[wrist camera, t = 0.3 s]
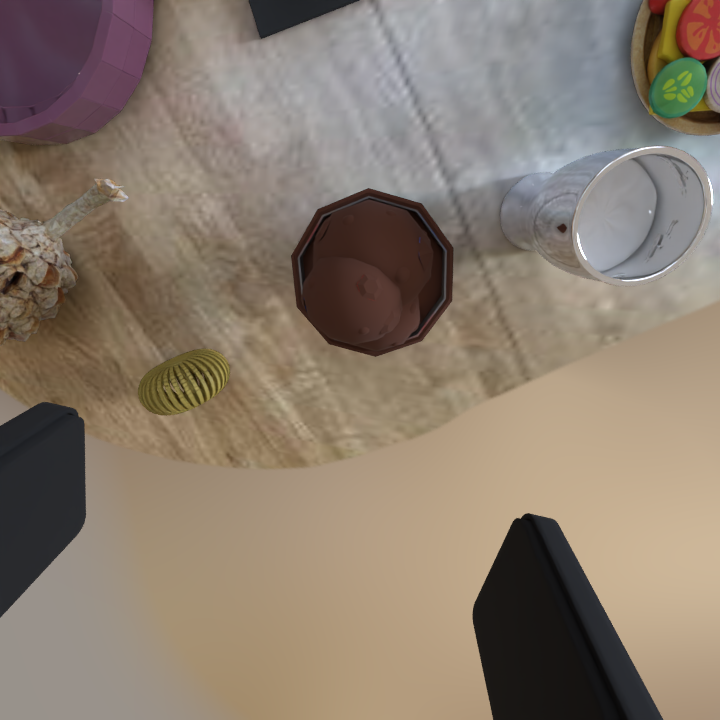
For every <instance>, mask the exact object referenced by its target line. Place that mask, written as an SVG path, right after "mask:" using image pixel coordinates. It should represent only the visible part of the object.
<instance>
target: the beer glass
mask: <svg viewBox="0 0 720 720" xmlns="http://www.w3.org/2000/svg"><path fill="white" fill-rule="evenodd" d="M712 207H713V193H712V187H711V183H710V180H709V177H708V175H707V173H706V171H705V170H704V168H703V167H702V165H701V164H700V163H699V162H698V161H697V160H696V159H695V158H694V157H692V156H691V155H689V154H688V153H686V152H684V151H682V150H679V149H676V148H673V147H668V146H648V147H642V148H626V149H616V150H610V151H604V152H599V153H595V154H592V155H589V156H585V157H582V158H579V159H577V160H575V161H573V162H571V163H569V164H567V165H565V166H563V167H562V168H560V169H558V170H557V171H555V172H554V173H550V172H539V173H534V174H531V175H528V176H526V177H524V178H522V179H521V180H519V181H518V182H517V183H516V184H515V185H514V186H513V187H512V188H511V189H510V190H509V192H508V193H507V195H506V196H505V198H504V201H503V203H502V207H501V211H500V222H501V227H502V230H503V233H504V235H505V236H506V238H507V239H508V240H509V241H510V242H511V243H512V244H513V245H515V246H516V247H518V248H521V249H524V250H530V251H537V252H538V253H539V254H540V255H541V256H542V257H543V258H544V259H546V260H547V261H548V262H549V263H551V264H552V265H553V266H555V267H557V268H559V269H561V270H563V271H565V272H567V273H570V274H572V275H576V276H579V277H582V278H586V279H590V280H595V281H600V282H605V283H608V284H611V285H616V286H636V285H641V284H645V283H649V282H652V281H654V280H657V279H659V278H661V277H663V276H665V275H667V274H668V273H670V272H672V271H673V270H674V269H676V268H677V267H678V266H680V265H681V264H682V263H683V262H684V261H685V260H686V259H687V258H688V257H689V256H690V255H691V254H692V253H693V251H694V250H695V249H696V247H697V246H698V245H699V243H700V241H701V240H702V238H703V236H704V234H705V232H706V230H707V227H708V225H709V222H710V218H711V214H712Z"/></svg>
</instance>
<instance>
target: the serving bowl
mask: <svg viewBox="0 0 720 720" xmlns="http://www.w3.org/2000/svg"><path fill="white" fill-rule="evenodd" d="M153 4H154V0H0V140H4V141H10V142H17V143H23V144H29V145H51V144H67V143H70V142H73V141H75V140H78V139H81V138H83V137H86V136H88V135H91V134H94V133H96V132H97V131H98V130H99V129H101V128H102V127H103V126H104V125H105V124H106V123H108V122H109V121H110V120H111V119H112V118H114V117H115V116H116V115H117V114H118V113H119V112H121V110H122V109H123V107H124V106H125V104H126V103H127V101H128V99H129V98H130V96H131V94H132V93H133V91H134V90H135V88H136V86H137V85H138V83H139V81H140V79H141V76H142V73H143V69H144V66H145V62H146V59H147V55H148V52H149V48H150V45H151V40H152V26H153Z"/></svg>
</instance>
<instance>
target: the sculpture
mask: <svg viewBox="0 0 720 720" xmlns="http://www.w3.org/2000/svg"><path fill="white" fill-rule="evenodd" d="M212 365H213V367H212ZM207 369H208V370H209V372H210V373H209V372H208V371H207ZM194 373H195V374H194ZM202 373H203V374H204V378H203V377H202V376H203V375H202ZM195 375H196V377H197V378H198V380H199V383H200V386H199V384H198V381H197V378H196V377H195ZM229 375H230V368H229V364H228V361H227V360H226V359H225V357H224V356H223V355H222V354H220V353H219V352H217V351H215V350H212V349H198V350H193V351H191V352H187V353H185V354H181V355H179V356H177V357H174V358H173V359H170V360H168V361H166V362H164V363H162V364H160V365H158V366H156V367H155V368H153V369H152V370H151V371H149V372H148V373H147V374H146V375H145V376H144V377H143V379H142V380H141V382H140V384H139V388H138V395H139V399H140V402H141V403H142V405H143V406H144V407H145V408H146V409H147V410H148V411H150V412H152V413H154V414H158V415H174V414H179V413H182V412H185V411H188V410H190V409H193V408H195V407H197V406H199V404H200V405H201V404H203V403H204V402H206V401H208V400H210V399H211V398H213V397H214V396H216V394H218V393H219V392H220V391H221V390H222V389H223V388H224V387H225V385H226V383H227V381H228V379H229ZM175 376H176V377H175ZM176 378H177V380H178V381H179V384H180V385H181V386H182V388H183V389H184V392H182V391H181V389H180V388H179V386H178V383H177V380H176ZM204 379H205V380H204ZM169 381H170V382H169ZM169 383H171V385H172V386H173V388H174V389H175V390H176V393H175V392H174V391H173V390H172V389H171V386H170V384H169ZM163 385H164V386H165V389H166V390H167V391H166V392H165V390H164V388H163ZM199 387H200V388H199ZM157 389H158V391H159V392H158V391H157ZM151 391H152V392H151Z"/></svg>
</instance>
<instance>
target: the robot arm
mask: <svg viewBox="0 0 720 720" xmlns="http://www.w3.org/2000/svg"><path fill="white" fill-rule="evenodd" d="M85 498H86V497H85V432H84V420H83V419H82V418H81V417H79V416H78V413H77V411H76V410H75V409H73V408H70V407H66V406H61V405H57V404H53V403H48V402H42V403H40V404H37V405H36V406H34V407H32V408H30V409H29V410H27V411H25V412H24V413H22V414H20V415H19V416H17V417H15V418H13V419H11V420H10V421H8V422H6V423H4V424H3V425H1V426H0V617H1V616H2V615H3V614H4V613H5V612H6V611H7V610H8V609H9V608H10V607H11V606H12V605H13V603H14V602H15V601H16V600H17V599H18V598H19V597H20V596H21V595H22V594H23V593H24V592H25V590H26V589H27V588H28V587H29V586H30V585H31V584H32V583H33V582H34V581H35V580H36V579H37V578H38V577H39V575H40V574H41V573H42V572H43V571H44V570H45V569H46V568H47V567H48V566H49V565H50V564H51V562H52V561H53V560H54V559H55V558H56V557H57V556H58V555H59V554H60V553H61V552H62V551H63V550H64V549H65V547H66V546H67V545H68V544H69V543H70V542H71V541H72V540H73V539H74V538H75V537H76V536H77V534H78V533H79V532H80V530H81V529H82V527H83V524H84V522H85V518H86V500H85ZM473 624H474V629H475V634H476V639H477V644H478V648H479V653H480V657H481V663H482V667H483V672H484V677H485V682H486V687H487V692H488V696H489V701H490V706H491V710H492V715H493V720H663V718H662V716H661V715H660V713H659V711H658V709H657V707H656V705H655V703H654V701H653V700H652V698H651V696H650V694H649V692H648V690H647V689H646V687H645V685H644V683H643V681H642V679H641V678H640V675H639V674H638V672H637V670H636V668H635V666H634V664H633V662H632V661H631V659H630V657H629V655H628V653H627V651H626V649H625V648H624V646H623V644H622V642H621V640H620V638H619V636H618V634H617V633H616V631H615V629H614V627H613V625H612V623H611V621H610V620H609V618H608V616H607V614H606V612H605V610H604V608H603V607H602V605H601V603H600V601H599V599H598V597H597V595H596V594H595V592H594V590H593V588H592V586H591V584H590V582H589V581H588V579H587V577H586V575H585V573H584V571H583V569H582V567H581V566H580V564H579V562H578V560H577V558H576V556H575V554H574V553H573V551H572V549H571V547H570V545H569V543H568V541H567V540H566V538H565V536H564V534H563V532H562V530H561V528H560V527H559V525H558V523H557V522H556V521H555V520H553V519H551V518H546V517H542V516H538V515H533V514H529V513H528V514H525V515H523V516H522V518H521V519H519V518H516V519H515V520H514V521H513V523H512V525H511V527H510V529H509V531H508V533H507V536H506V538H505V540H504V542H503V544H502V546H501V548H500V550H499V552H498V555H497V557H496V559H495V561H494V563H493V565H492V568H491V569H490V572H489V574H488V576H487V578H486V580H485V583H484V584H483V586H482V589H481V591H480V593H479V595H478V597H477V599H476V601H475V604H474V608H473Z"/></svg>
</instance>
